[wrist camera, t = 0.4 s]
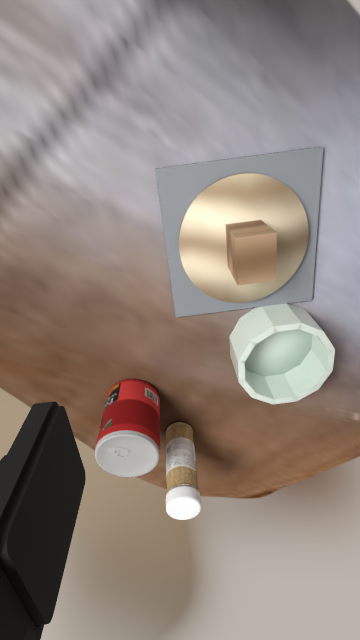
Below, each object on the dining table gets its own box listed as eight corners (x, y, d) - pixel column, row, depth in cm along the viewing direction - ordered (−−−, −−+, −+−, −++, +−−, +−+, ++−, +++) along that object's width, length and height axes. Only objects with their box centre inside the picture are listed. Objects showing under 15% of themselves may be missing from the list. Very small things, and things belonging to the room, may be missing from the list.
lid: (170, 182, 37) (172, 190, 30) (308, 164, 37) (339, 168, 30) (185, 305, 44) (189, 333, 37) (301, 291, 44) (324, 316, 37)
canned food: (109, 374, 49) (96, 431, 39) (163, 380, 50) (164, 437, 40) (105, 413, 52) (92, 475, 43) (156, 418, 53) (155, 480, 44)
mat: (155, 168, 37) (155, 168, 36) (321, 146, 36) (323, 146, 36) (175, 315, 45) (175, 317, 44) (310, 298, 45) (312, 300, 44)
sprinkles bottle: (183, 444, 56) (189, 525, 44) (160, 435, 55) (159, 515, 43) (198, 426, 55) (208, 505, 43) (174, 416, 53) (177, 495, 42)
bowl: (227, 308, 45) (236, 331, 40) (317, 297, 45) (338, 318, 39) (231, 380, 51) (240, 408, 45) (311, 370, 50) (329, 397, 45)
